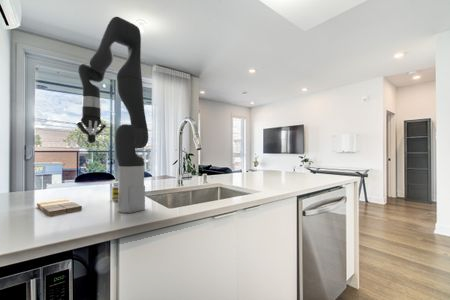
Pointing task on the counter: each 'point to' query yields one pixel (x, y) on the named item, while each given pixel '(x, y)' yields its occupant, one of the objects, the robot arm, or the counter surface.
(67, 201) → the oak plank
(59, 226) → the counter surface
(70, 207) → the brown flat square block
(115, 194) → the supplement bottle
